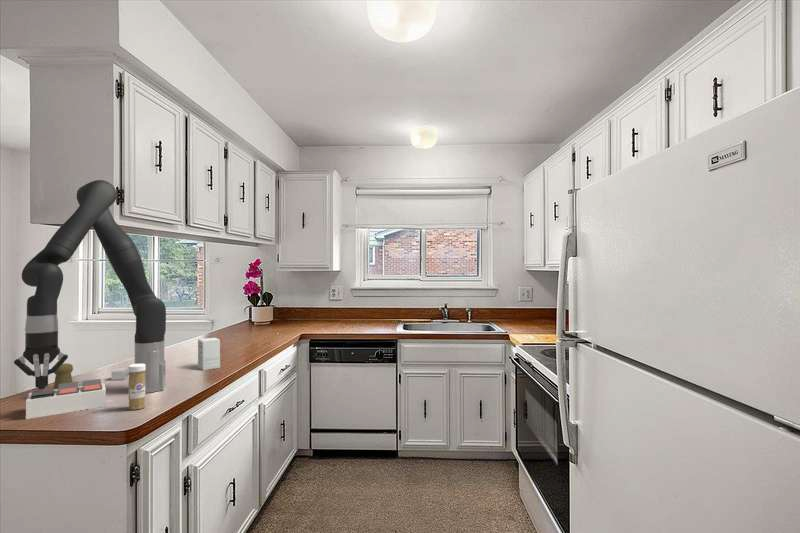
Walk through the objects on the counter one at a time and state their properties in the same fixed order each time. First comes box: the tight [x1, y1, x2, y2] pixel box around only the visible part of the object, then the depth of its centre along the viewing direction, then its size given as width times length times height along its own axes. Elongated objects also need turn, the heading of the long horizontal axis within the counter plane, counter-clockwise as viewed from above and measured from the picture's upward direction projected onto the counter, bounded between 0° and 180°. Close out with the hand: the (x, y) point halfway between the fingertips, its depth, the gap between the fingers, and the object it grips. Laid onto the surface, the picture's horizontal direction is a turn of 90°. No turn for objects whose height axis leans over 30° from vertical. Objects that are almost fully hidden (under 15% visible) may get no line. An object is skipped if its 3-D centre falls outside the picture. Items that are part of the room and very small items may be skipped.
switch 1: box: [31, 388, 54, 396], centre depth 131 cm, size 5×7×1 cm
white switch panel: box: [25, 382, 107, 420], centre depth 134 cm, size 19×10×5 cm, turn 126°
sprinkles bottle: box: [127, 363, 146, 411], centre depth 134 cm, size 5×5×14 cm
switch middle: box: [58, 381, 79, 396], centre depth 134 cm, size 5×7×1 cm
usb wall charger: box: [111, 367, 129, 381], centre depth 171 cm, size 4×7×4 cm, turn 103°
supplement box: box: [197, 337, 221, 371], centre depth 189 cm, size 7×7×13 cm
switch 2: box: [82, 378, 102, 392], centre depth 138 cm, size 5×7×1 cm
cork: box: [52, 363, 74, 390], centre depth 147 cm, size 6×6×11 cm
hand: (41, 388), depth 129 cm, fingers closed
